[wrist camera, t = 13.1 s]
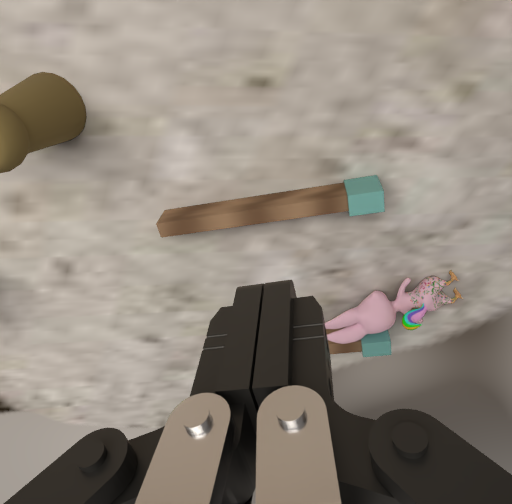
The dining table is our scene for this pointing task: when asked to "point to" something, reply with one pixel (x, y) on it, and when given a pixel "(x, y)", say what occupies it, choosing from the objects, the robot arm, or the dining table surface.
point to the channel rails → (283, 208)
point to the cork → (38, 117)
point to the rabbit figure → (390, 310)
